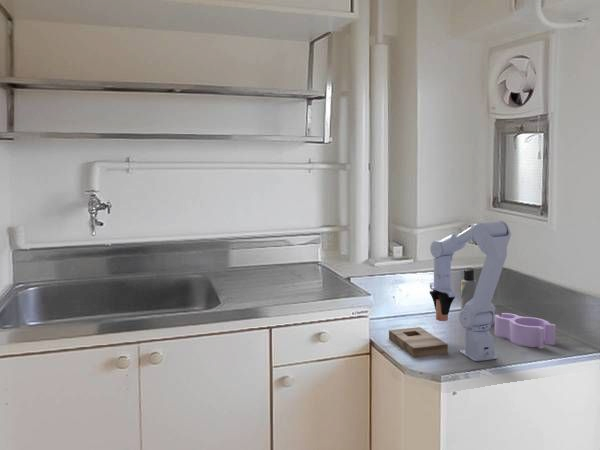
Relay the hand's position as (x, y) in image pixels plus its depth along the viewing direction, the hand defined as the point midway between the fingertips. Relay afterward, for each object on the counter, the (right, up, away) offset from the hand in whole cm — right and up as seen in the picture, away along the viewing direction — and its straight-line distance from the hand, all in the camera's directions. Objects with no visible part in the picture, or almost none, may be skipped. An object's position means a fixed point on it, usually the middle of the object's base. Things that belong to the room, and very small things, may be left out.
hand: (441, 312), depth 191 cm
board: (-10, -10, -6) cm, 15 cm away
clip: (+28, -9, -1) cm, 29 cm away
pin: (0, -2, 0) cm, 2 cm away
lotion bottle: (+17, -6, +26) cm, 32 cm away
